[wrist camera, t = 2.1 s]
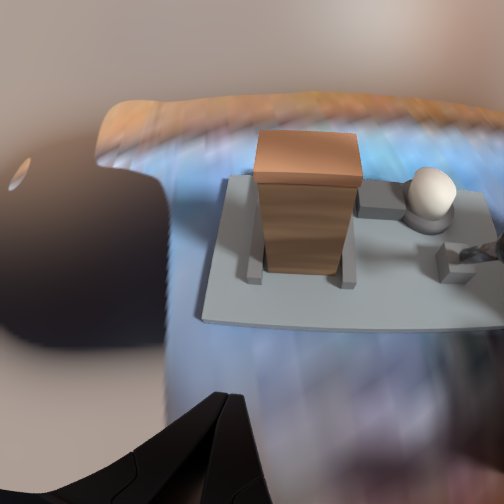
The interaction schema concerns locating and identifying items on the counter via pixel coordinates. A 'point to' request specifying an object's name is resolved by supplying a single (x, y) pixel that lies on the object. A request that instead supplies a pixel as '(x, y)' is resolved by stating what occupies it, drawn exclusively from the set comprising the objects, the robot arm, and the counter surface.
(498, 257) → the dark gray metallic lever
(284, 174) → the brown tall rectangular block
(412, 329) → the control board
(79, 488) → the robot arm
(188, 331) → the counter surface
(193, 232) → the counter surface
